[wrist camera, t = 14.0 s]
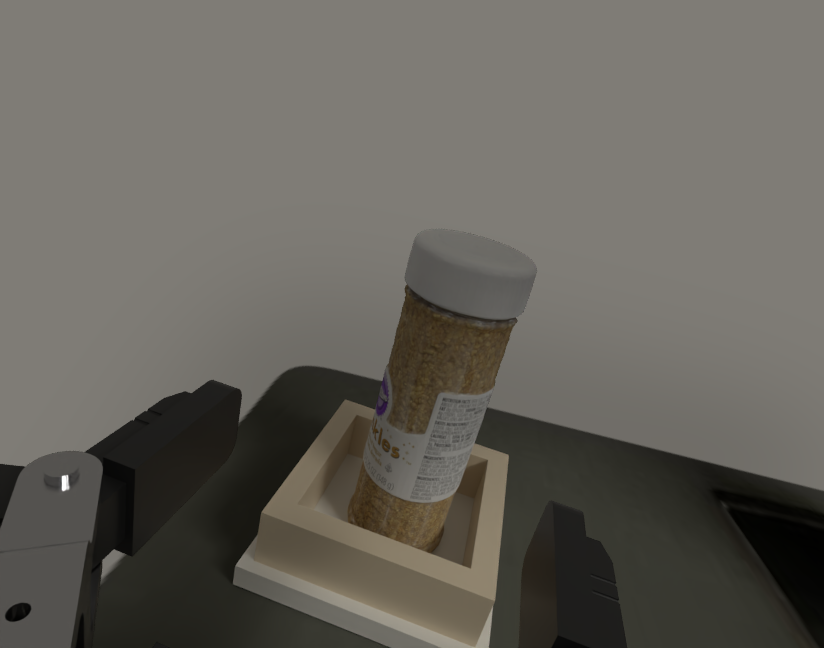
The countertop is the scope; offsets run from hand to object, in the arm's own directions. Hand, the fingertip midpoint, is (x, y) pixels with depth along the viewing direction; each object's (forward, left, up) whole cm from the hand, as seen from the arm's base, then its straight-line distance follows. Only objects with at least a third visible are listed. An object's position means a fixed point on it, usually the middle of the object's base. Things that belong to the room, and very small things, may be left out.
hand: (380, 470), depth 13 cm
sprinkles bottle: (0, -8, -9) cm, 12 cm away
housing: (0, -8, -10) cm, 13 cm away
